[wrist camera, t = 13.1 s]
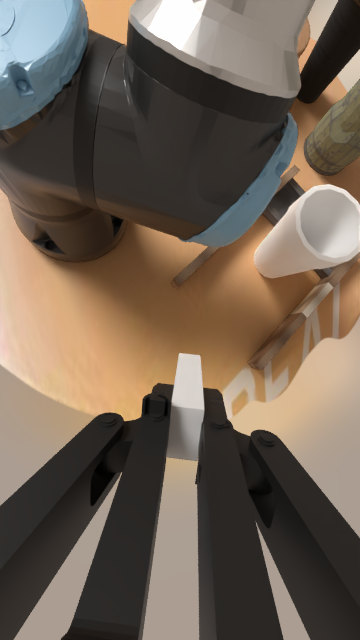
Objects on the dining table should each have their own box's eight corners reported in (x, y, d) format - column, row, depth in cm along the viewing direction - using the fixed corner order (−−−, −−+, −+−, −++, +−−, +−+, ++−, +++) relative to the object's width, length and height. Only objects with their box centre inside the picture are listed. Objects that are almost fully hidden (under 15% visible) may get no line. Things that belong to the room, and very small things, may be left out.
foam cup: (284, 297, 41) (351, 277, 28) (236, 271, 40) (283, 238, 27) (303, 249, 42) (376, 209, 29) (258, 222, 41) (312, 169, 28)
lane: (252, 367, 39) (261, 370, 36) (171, 283, 38) (174, 278, 35) (352, 254, 44) (368, 247, 41) (283, 177, 43) (294, 164, 40)
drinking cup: (280, 94, 44) (395, -104, 24) (296, 64, 45) (418, -148, 26) (314, 118, 45) (452, -54, 25) (329, 88, 46) (472, -99, 27)
